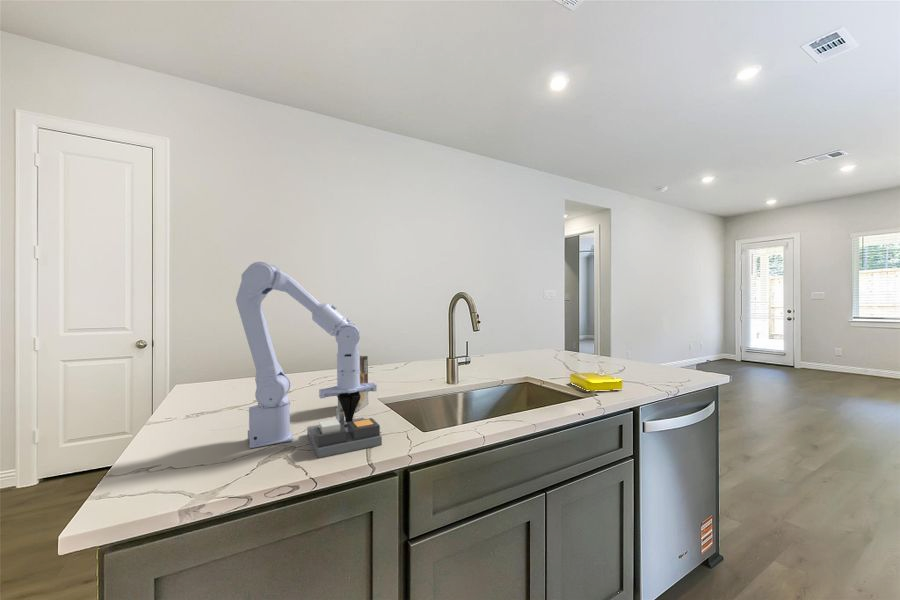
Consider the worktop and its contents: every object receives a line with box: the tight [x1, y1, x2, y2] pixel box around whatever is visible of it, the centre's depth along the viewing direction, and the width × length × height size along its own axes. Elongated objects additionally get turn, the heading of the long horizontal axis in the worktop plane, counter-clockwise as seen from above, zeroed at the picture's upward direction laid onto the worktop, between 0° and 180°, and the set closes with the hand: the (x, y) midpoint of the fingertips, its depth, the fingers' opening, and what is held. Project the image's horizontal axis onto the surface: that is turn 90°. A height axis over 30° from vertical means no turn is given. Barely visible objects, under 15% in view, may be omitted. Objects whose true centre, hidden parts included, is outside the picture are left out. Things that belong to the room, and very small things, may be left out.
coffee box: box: [337, 355, 369, 413], centre depth 119 cm, size 9×6×16 cm
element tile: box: [569, 371, 624, 391], centre depth 145 cm, size 15×15×5 cm
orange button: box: [353, 418, 374, 428], centre depth 91 cm, size 4×4×2 cm
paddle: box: [335, 407, 345, 427], centre depth 96 cm, size 1×4×4 cm, turn 29°
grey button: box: [318, 418, 340, 434], centre depth 87 cm, size 4×4×2 cm
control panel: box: [306, 417, 383, 459], centre depth 93 cm, size 15×16×4 cm
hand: (348, 421), depth 97 cm, fingers closed
